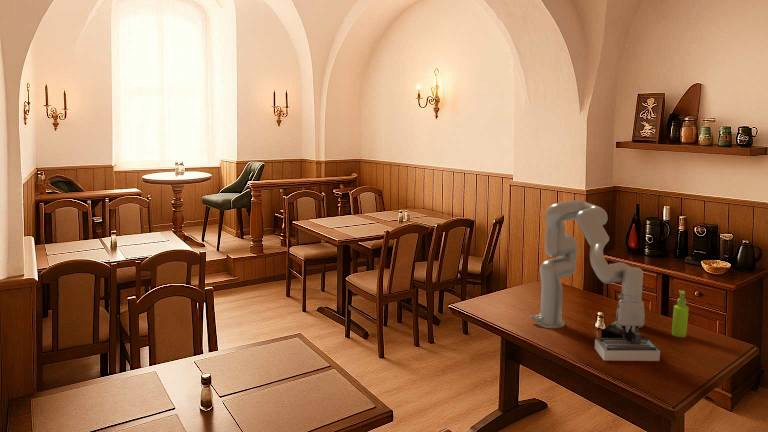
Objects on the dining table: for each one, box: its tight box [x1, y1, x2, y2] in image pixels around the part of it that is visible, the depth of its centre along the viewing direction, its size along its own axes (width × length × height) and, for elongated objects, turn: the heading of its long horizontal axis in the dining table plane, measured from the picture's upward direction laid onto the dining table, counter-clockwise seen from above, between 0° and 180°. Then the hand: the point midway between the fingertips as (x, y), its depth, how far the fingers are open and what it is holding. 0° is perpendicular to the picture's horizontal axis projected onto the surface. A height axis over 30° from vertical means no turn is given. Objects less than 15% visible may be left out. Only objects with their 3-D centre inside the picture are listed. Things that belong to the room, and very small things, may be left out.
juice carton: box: [600, 320, 640, 338], centre depth 256 cm, size 20×10×6 cm, turn 137°
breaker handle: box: [632, 332, 642, 344], centre depth 238 cm, size 2×2×5 cm
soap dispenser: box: [671, 289, 690, 338], centre depth 257 cm, size 6×7×20 cm
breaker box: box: [594, 337, 661, 362], centre depth 238 cm, size 22×12×5 cm, turn 87°
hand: (628, 340), depth 238 cm, fingers closed
